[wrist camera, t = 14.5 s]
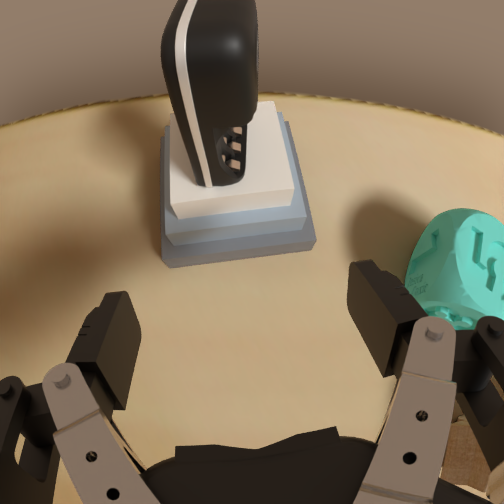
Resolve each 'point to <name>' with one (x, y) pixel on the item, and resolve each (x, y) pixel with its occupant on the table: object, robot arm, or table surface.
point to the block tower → (235, 200)
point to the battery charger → (213, 83)
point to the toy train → (465, 458)
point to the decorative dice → (459, 268)
